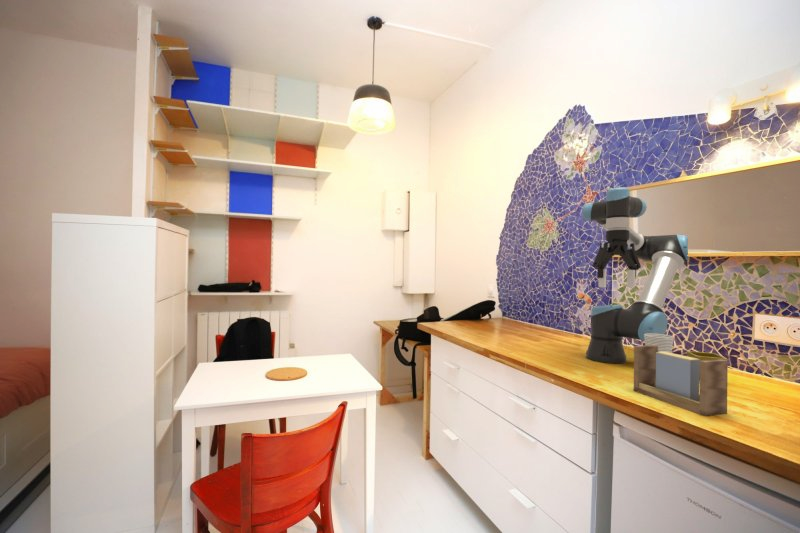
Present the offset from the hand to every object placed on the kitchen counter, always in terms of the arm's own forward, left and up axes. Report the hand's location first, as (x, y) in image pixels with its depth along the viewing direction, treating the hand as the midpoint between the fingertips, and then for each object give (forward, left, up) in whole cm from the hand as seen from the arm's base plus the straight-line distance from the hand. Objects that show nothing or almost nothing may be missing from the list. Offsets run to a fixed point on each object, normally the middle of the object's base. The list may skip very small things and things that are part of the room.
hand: (616, 287), depth 137 cm
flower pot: (-24, +15, -32) cm, 43 cm away
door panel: (+8, +28, -30) cm, 42 cm away
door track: (+8, +28, -32) cm, 43 cm away
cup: (-7, +11, -32) cm, 34 cm away
